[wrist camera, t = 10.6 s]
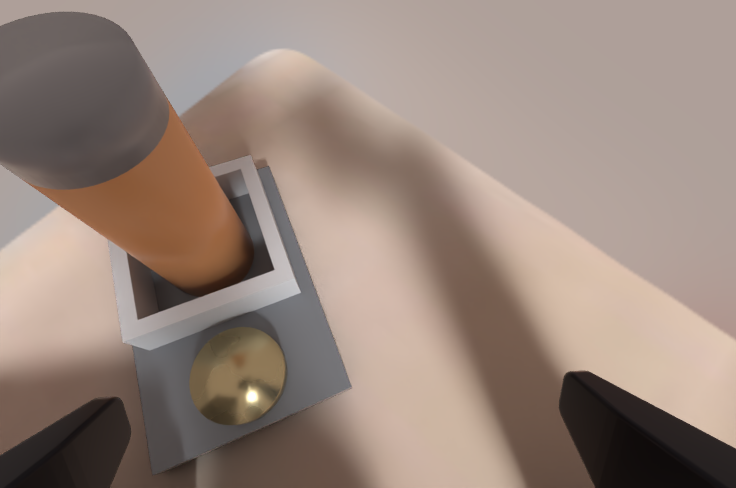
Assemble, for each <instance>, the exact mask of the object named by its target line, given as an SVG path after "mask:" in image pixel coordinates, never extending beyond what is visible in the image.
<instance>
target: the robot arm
mask: <svg viewBox="0 0 736 488" xmlns="http://www.w3.org/2000/svg"><path fill="white" fill-rule="evenodd" d="M559 410H560V413H561V416H562V418H563V420H564V423H565V425H566V427H567V429H568V431H569V433H570V435H571V438H572V440H573V442H574V444H575V446H576V448H577V450H578V453H579V455H580V457H581V459H582V461H583V463H584V465H585V468H586V470H587V472H588V474H589V476H590V478H591V480H592V482H593V484H594V486H595V488H736V449H735V448H734V447H732V446H730V445H728V444H726V443H724V442H722V441H720V440H718V439H716V438H715V437H713V436H711V435H709V434H707V433H705V432H703V431H701V430H699V429H697V428H695V427H694V426H692V425H690V424H688V423H686V422H684V421H682V420H680V419H678V418H676V417H675V416H673V415H671V414H669V413H667V412H665V411H663V410H661V409H659V408H657V407H655V406H654V405H652V404H650V403H648V402H646V401H644V400H642V399H640V398H638V397H636V396H635V395H633V394H631V393H629V392H627V391H625V390H623V389H621V388H619V387H617V386H615V385H614V384H612V383H610V382H608V381H606V380H604V379H602V378H600V377H598V376H596V375H595V374H593V373H591V372H589V371H570V372H567V373H566V374H565V376H564V379H563V384H562V389H561V394H560V399H559ZM130 436H131V428H130V424H129V421H128V418H127V415H126V411H125V408H124V405H123V402H122V400H121V399H120V398H118V397H101V398H96V399H93V400H91V401H90V402H88V403H86V404H85V405H83V406H81V407H80V408H78V409H76V410H75V411H73V412H71V413H70V414H68V415H66V416H65V417H63V418H61V419H60V420H58V421H56V422H55V423H53V424H52V425H50V426H48V427H47V428H45V429H43V430H42V431H40V432H38V433H37V434H35V435H33V436H32V437H30V438H28V439H27V440H25V441H23V442H22V443H20V444H18V445H17V446H15V447H13V448H12V449H10V450H8V451H7V452H5V453H3V454H2V455H0V488H110V486H111V484H112V481H113V479H114V477H115V474H116V472H117V469H118V467H119V465H120V462H121V460H122V457H123V455H124V453H125V450H126V448H127V446H128V443H129V440H130Z"/></svg>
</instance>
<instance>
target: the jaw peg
mask: <svg viewBox="0 0 736 488" xmlns="http://www.w3.org/2000/svg"><path fill="white" fill-rule="evenodd" d="M0 164H1V165H2V166H3V167H5V168H6V169H8V170H9V171H11V172H12V173H13V174H15V175H16V176H18V177H19V178H21V179H22V180H24V181H25V182H26V183H28V184H29V185H31V186H32V187H34V188H35V189H37V190H38V191H39V192H41V193H42V194H44V195H45V196H47V197H48V198H49V199H51V200H52V201H54V202H55V203H57V204H58V205H59V206H61V207H62V208H64V209H65V210H67V211H68V212H70V213H71V214H72V215H74V216H75V217H77V218H78V219H80V220H81V221H82V222H84V223H85V224H87V225H88V226H90V227H91V228H93V229H94V230H95V231H97V232H98V233H100V234H101V235H103V236H104V237H105V238H107V239H108V240H110V241H111V242H113V243H114V244H116V245H117V246H118V247H120V248H121V249H123V250H124V251H126V252H127V253H128V254H130V255H131V256H133V257H134V258H136V259H137V260H139V261H140V262H141V263H143V264H144V265H146V266H147V267H149V268H150V269H151V270H153V271H154V272H156V273H157V274H159V275H160V276H162V277H163V278H164V279H166V280H167V281H169V282H170V283H172V284H173V285H174V286H176V287H177V288H179V289H180V290H182V291H183V292H185V293H187V294H190V295H193V296H199V297H202V296H205V295H208V294H211V293H213V292H216V291H219V290H222V289H224V288H227V287H230V286H232V285H235V284H238V283H240V282H241V281H242V280H243V279H244V277H245V276H246V275H247V273H248V272H249V270H250V268H251V265H252V263H253V259H254V245H253V241H252V239H251V237H250V235H249V233H248V232H247V230H246V228H245V227H244V225H243V223H242V222H241V220H240V218H239V217H238V215H237V213H236V212H235V210H234V208H233V207H232V205H231V203H230V202H229V200H228V198H227V197H226V195H225V193H224V192H223V190H222V188H221V187H220V185H219V183H218V182H217V180H216V178H215V177H214V175H213V173H212V172H211V170H210V169H209V167H208V165H207V164H206V162H205V160H204V159H203V157H202V155H201V154H200V152H199V150H198V149H197V147H196V145H195V144H194V142H193V140H192V139H191V137H190V135H189V134H188V132H187V130H186V129H185V127H184V125H183V124H182V122H181V120H180V119H179V117H178V115H177V114H176V112H175V110H174V109H173V107H172V105H171V104H170V102H169V101H168V99H167V97H166V96H165V94H164V92H163V91H162V89H161V87H160V86H159V84H158V82H157V81H156V79H155V77H154V76H153V74H152V72H151V71H150V69H149V67H148V66H147V64H146V63H145V61H144V59H143V58H142V56H141V54H140V52H139V51H138V49H137V47H136V46H135V44H134V42H133V41H132V39H131V38H130V36H129V35H128V34H127V32H126V31H124V29H122V28H121V27H120V26H119V25H117V24H115V23H114V22H112V21H110V20H108V19H106V18H103V17H99V16H97V15H92V14H87V13H80V12H52V13H45V14H38V15H34V16H29V17H25V18H22V19H18V20H15V21H13V22H10V23H7V24H4V25H2V26H0Z"/></svg>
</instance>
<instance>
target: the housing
mask: <svg viewBox="0 0 736 488" xmlns="http://www.w3.org/2000/svg"><path fill="white" fill-rule="evenodd" d="M209 169H210V170H211V172H212V173H213V175H214V177H215V178H216V180H217V182H218V183H219V185H220V187H221V188H222V190H223V192H224V193H225V195H226V197H227V198H228V200H229V202H230V203H231V205H232V207H233V208H234V210H235V212H236V213H237V215H238V217H239V218H240V220H241V222H242V223H243V225H244V227H245V228H246V230H247V232H248V233H249V235H250V237H251V239H252V241H253V245H254V259H253V263H252V265H251V268H250V270H249V272H248V273H247V275H246V276H245V277H244V279H243V280H242V281H241V282H240V283H238V284H235V285H232V286H230V287H227V288H224V289H222V290H219V291H216V292H213V293H211V294H208V295H205V296H202V297H199V296H193V295H190V294H187V293H185V292H183V291H182V290H180V289H179V288H177V287H176V286H174V285H173V284H172V283H170V282H169V281H167V280H166V279H164V278H163V277H162V276H160V275H159V274H157V273H156V272H154V271H153V270H151V269H150V268H149V267H147V266H146V265H144V264H143V263H141V262H140V261H139V260H137V259H136V258H134V257H133V256H131V255H130V254H128V253H127V252H126V251H124V250H123V249H121V248H120V247H118V246H117V245H116V244H114V243H113V242H111V241H110V240H108V246H109V253H110V260H111V266H112V273H113V280H114V287H115V294H116V301H117V308H118V315H119V322H120V329H121V336H122V342H123V343H126V344H130V345H132V346H133V353H134V359H135V366H136V372H137V379H138V385H139V391H140V398H141V404H142V411H143V417H144V424H145V430H146V437H147V443H148V450H149V456H150V463H151V469H152V475H156V474H159V473H162V472H165V471H167V470H170V469H172V468H174V467H176V466H179V465H181V464H183V463H185V462H188V461H190V460H192V459H194V458H197V457H199V456H201V455H203V454H206V453H208V452H210V451H212V450H215V449H217V448H219V447H221V446H224V445H226V444H228V443H230V442H233V441H235V440H237V439H239V438H242V437H244V436H246V435H248V434H250V433H253V432H255V431H257V430H259V429H262V428H264V427H266V426H268V425H271V424H273V423H275V422H277V421H280V420H282V419H284V418H286V417H289V416H291V415H293V414H295V413H298V412H300V411H302V410H304V409H307V408H309V407H311V406H313V405H316V404H318V403H320V402H322V401H325V400H327V399H329V398H331V397H334V396H336V395H338V394H340V393H342V392H345V391H347V390H349V389H351V388H352V386H351V384H350V381H349V378H348V376H347V373H346V370H345V368H344V365H343V362H342V360H341V357H340V354H339V352H338V349H337V346H336V344H335V341H334V338H333V336H332V333H331V330H330V328H329V325H328V322H327V320H326V317H325V314H324V312H323V309H322V306H321V304H320V301H319V298H318V296H317V293H316V290H315V288H314V285H313V282H312V280H311V277H310V274H309V272H308V269H307V266H306V264H305V261H304V258H303V256H302V253H301V250H300V248H299V245H298V242H297V240H296V237H295V234H294V232H293V229H292V226H291V224H290V221H289V218H288V216H287V213H286V210H285V208H284V205H283V202H282V200H281V197H280V194H279V192H278V189H277V186H276V184H275V181H274V178H273V176H272V173H271V170H270V168H269V166H267V167H264V168H261V169H256V167H255V164H254V162H253V159H252V157H251V155H248V156H244V157H241V158H238V159H234V160H231V161H228V162H224V163H221V164H218V165H215V166H211V167H209Z"/></svg>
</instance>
